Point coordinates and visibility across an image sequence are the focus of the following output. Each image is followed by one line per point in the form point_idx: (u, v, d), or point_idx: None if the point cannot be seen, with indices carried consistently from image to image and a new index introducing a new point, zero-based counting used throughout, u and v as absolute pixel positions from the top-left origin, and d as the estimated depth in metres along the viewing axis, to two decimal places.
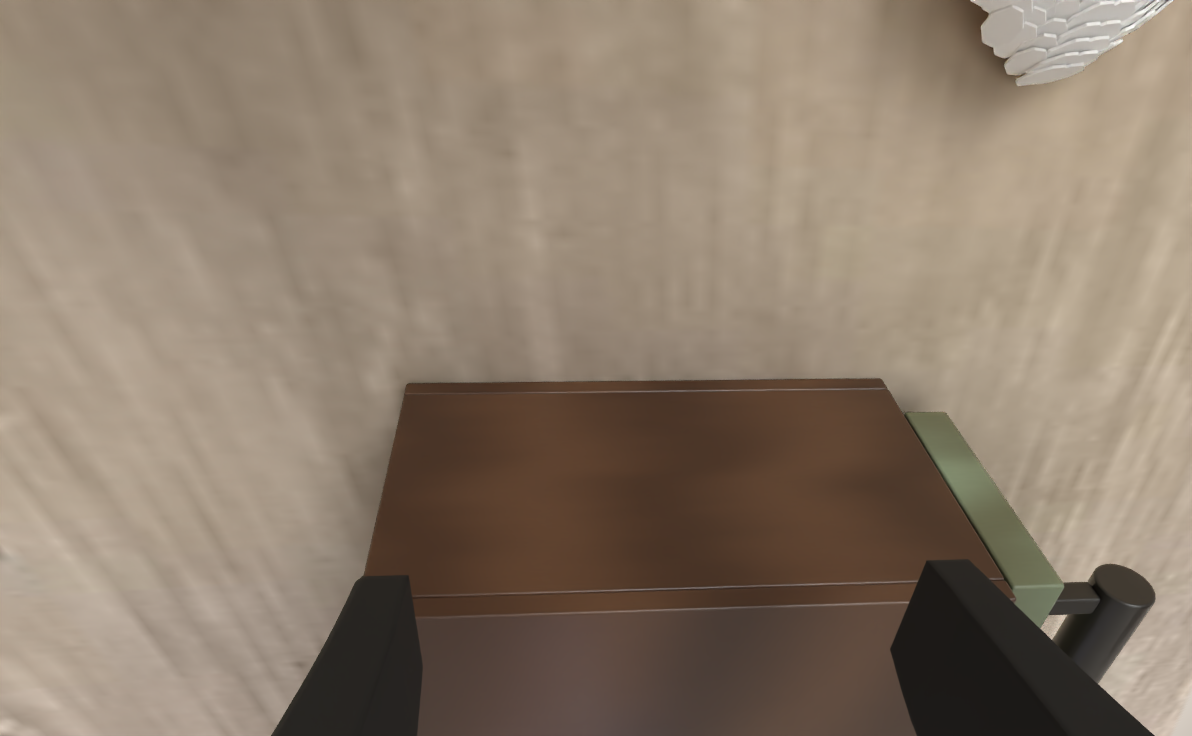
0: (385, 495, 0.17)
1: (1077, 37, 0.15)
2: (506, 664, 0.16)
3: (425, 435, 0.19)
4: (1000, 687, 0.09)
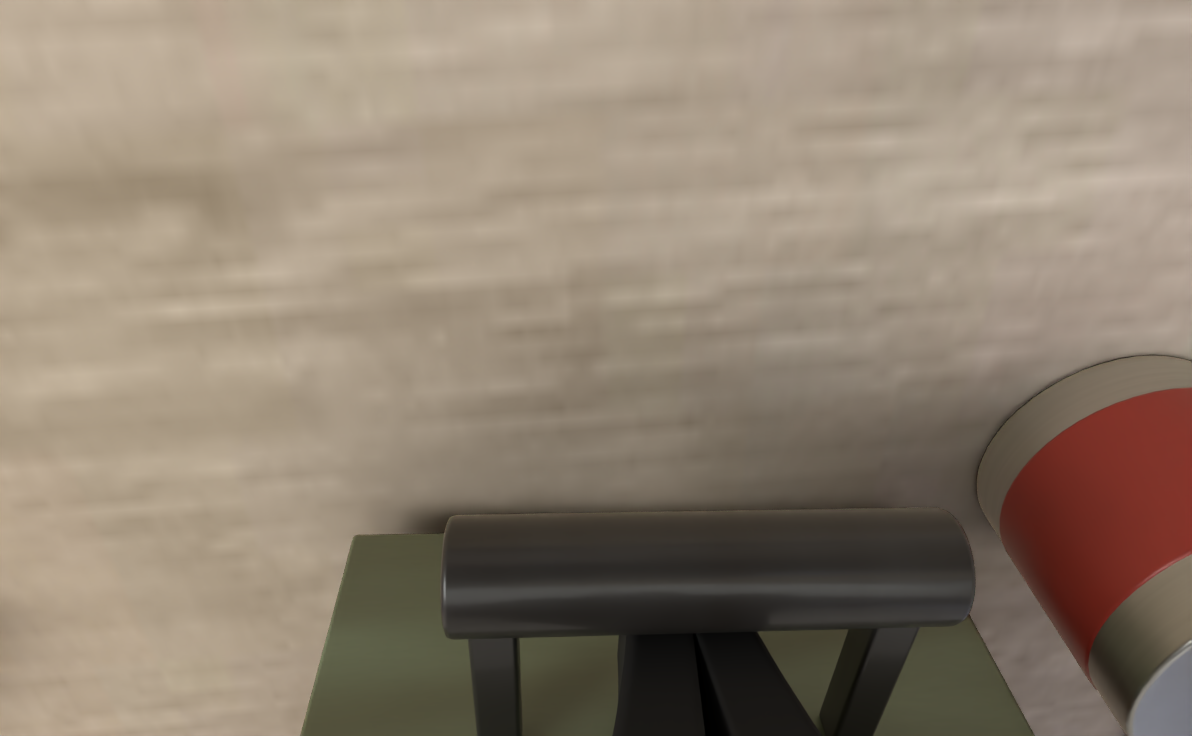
0: None
1: None
2: None
3: None
4: (707, 699, 0.09)
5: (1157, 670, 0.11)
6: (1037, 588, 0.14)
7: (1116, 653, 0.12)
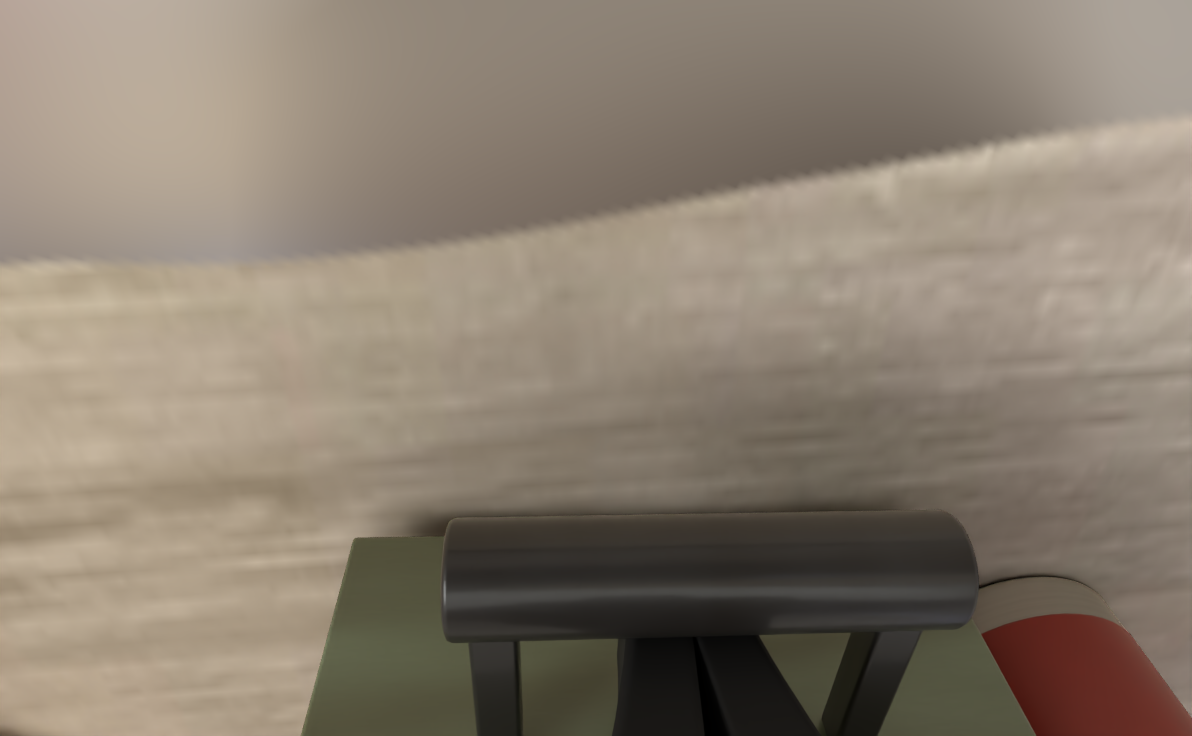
0: None
1: None
2: None
3: None
4: (706, 699, 0.09)
5: None
6: None
7: None
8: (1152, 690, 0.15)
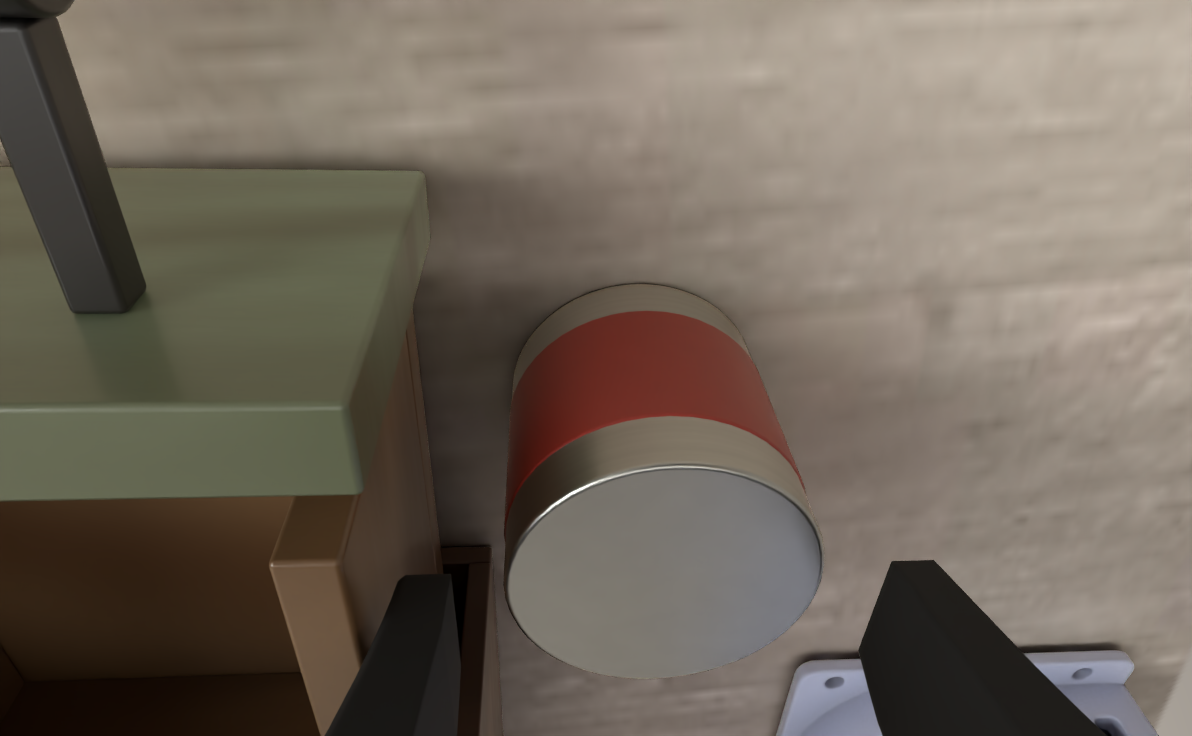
0: None
1: None
2: None
3: None
4: (959, 689, 0.09)
5: (506, 569, 0.11)
6: None
7: None
8: (712, 374, 0.12)
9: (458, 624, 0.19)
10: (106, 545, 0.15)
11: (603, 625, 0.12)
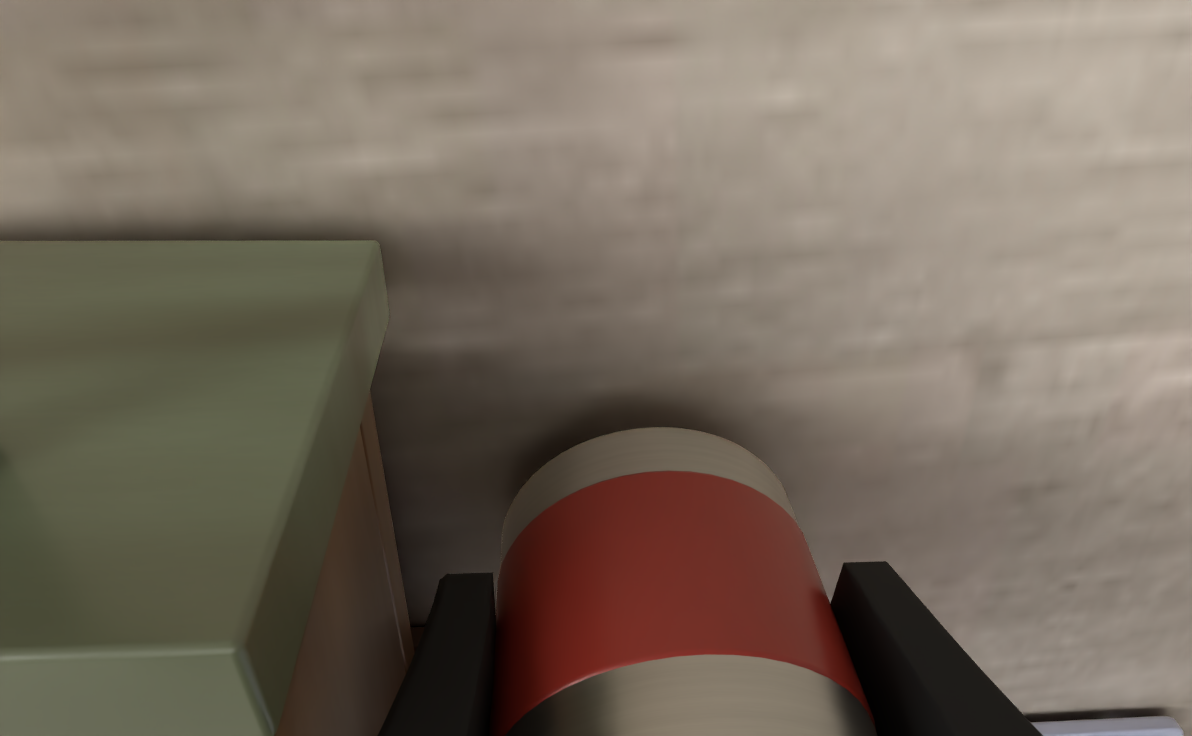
0: None
1: None
2: None
3: None
4: (903, 691, 0.09)
5: None
6: None
7: None
8: (755, 573, 0.09)
9: None
10: None
11: None
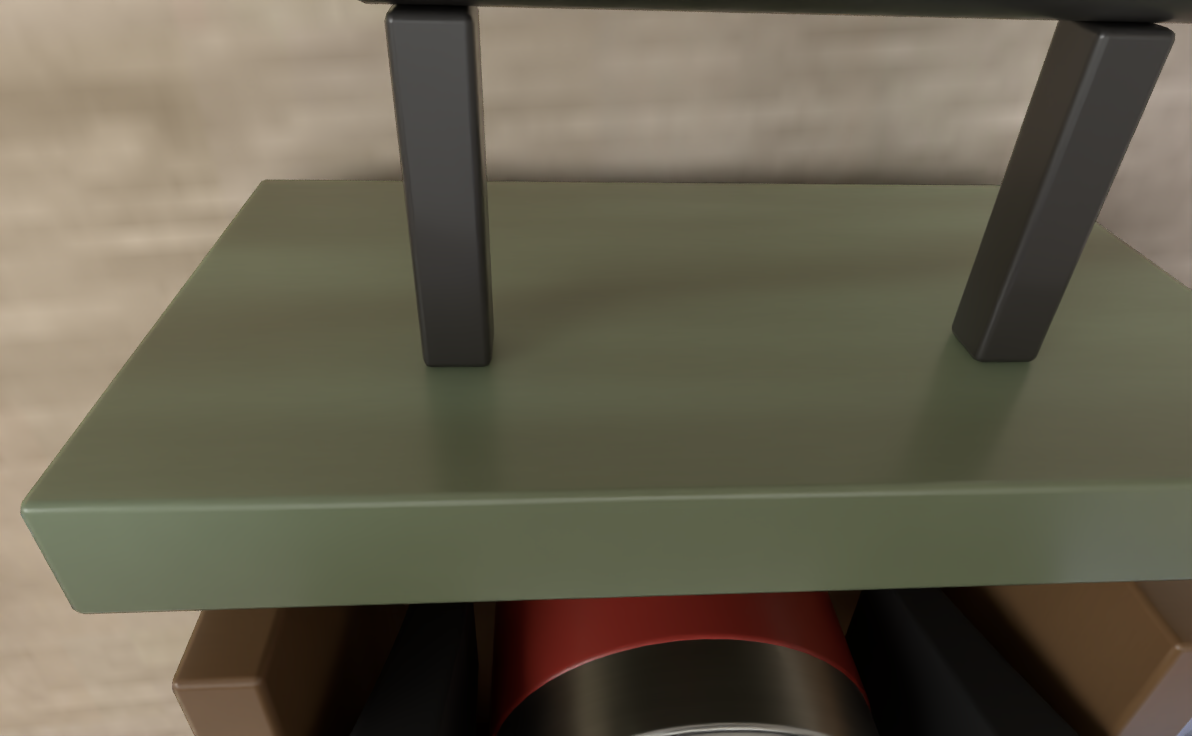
0: None
1: None
2: None
3: None
4: (936, 690, 0.09)
5: None
6: None
7: None
8: None
9: None
10: None
11: None
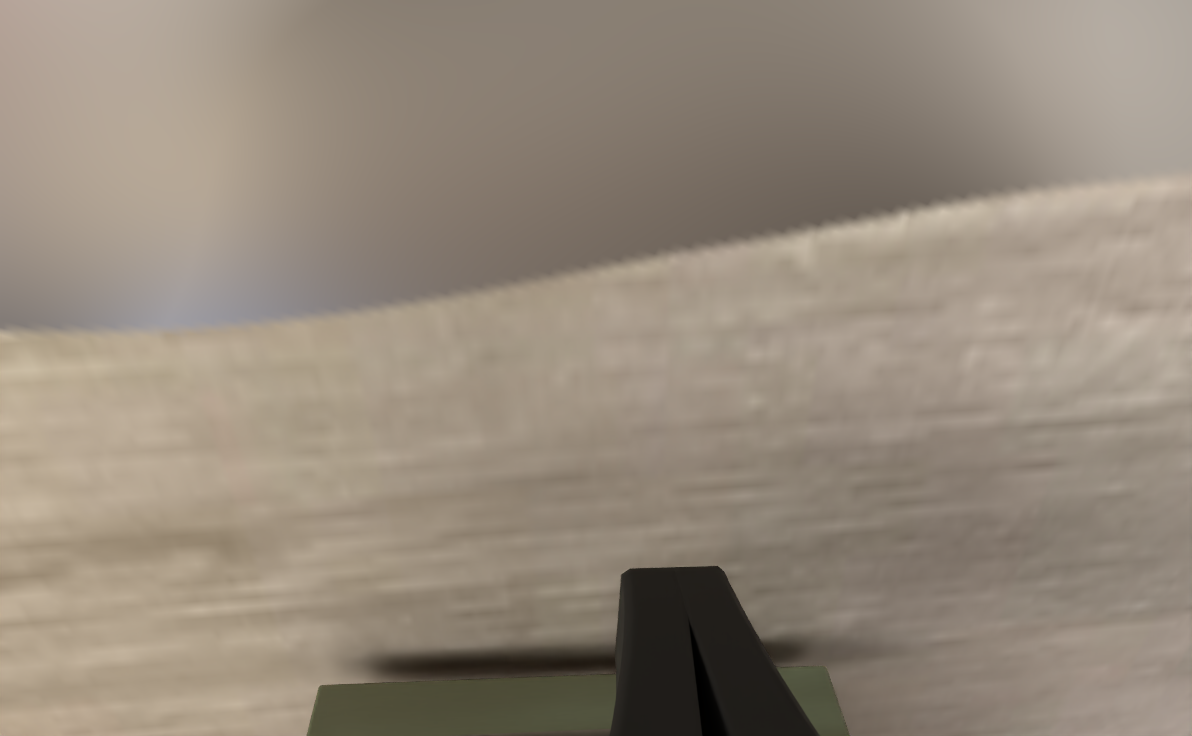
0: None
1: None
2: None
3: None
4: (705, 699, 0.09)
5: None
6: None
7: None
8: None
9: None
10: None
11: None
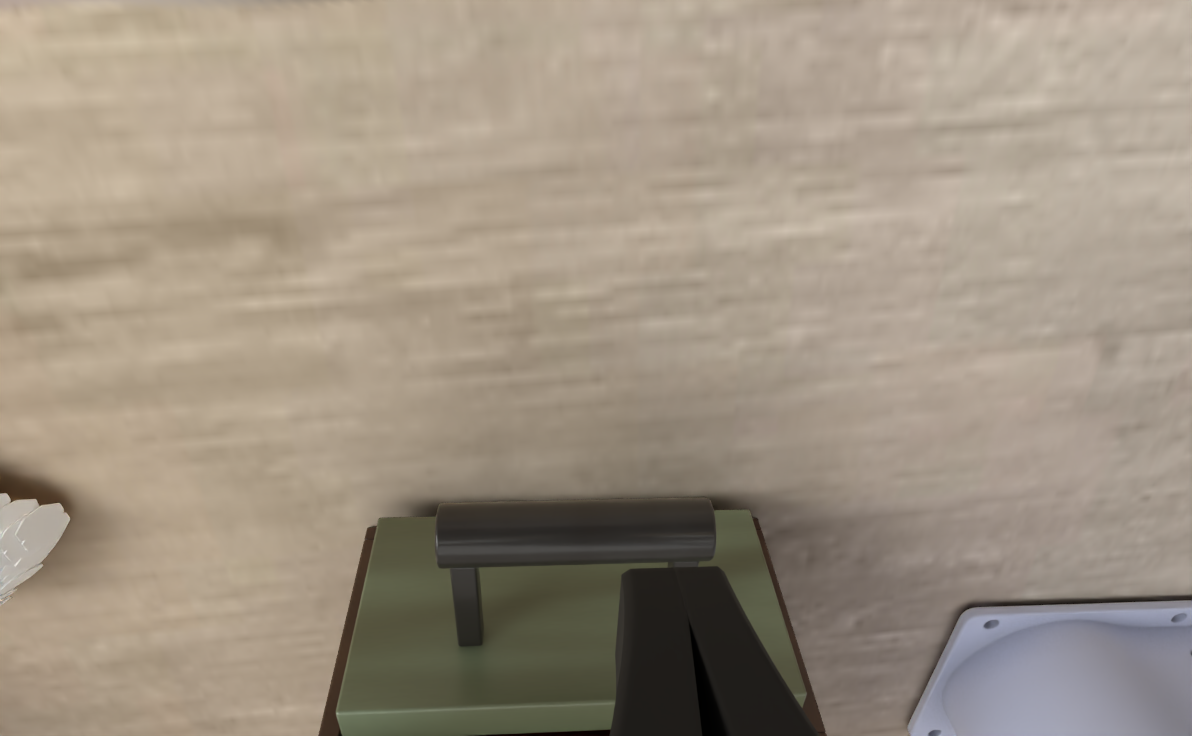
0: None
1: None
2: None
3: None
4: (705, 699, 0.09)
5: None
6: None
7: None
8: None
9: None
10: None
11: None
